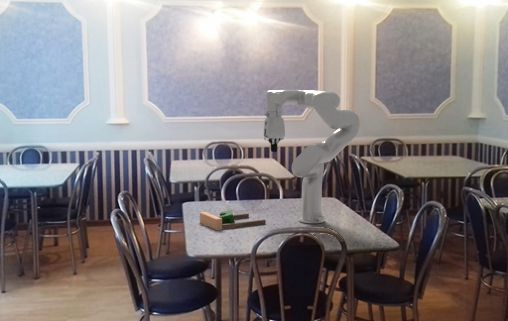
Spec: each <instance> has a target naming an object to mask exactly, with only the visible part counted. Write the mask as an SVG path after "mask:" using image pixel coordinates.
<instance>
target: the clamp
mask: <svg viewBox="0 0 508 321" xmlns="http://www.w3.org/2000/svg"><path fill="white" fill-rule="evenodd" d="M233 215H234V214H233V211H232V209H228V210H224V211H220V212H219V216H220V218H222V224H229V223H236V221H235V219H234V217H233Z"/></svg>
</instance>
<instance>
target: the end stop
mask: <svg viewBox="0 0 508 321" xmlns="http://www.w3.org/2000/svg"><path fill="white" fill-rule="evenodd" d="M199 223H200V224H202V225H204V226H206V227H208V228H210V229H212V230H216V231H219V230H220V231H221V230H223V229H222V218H219V216H216V215H214V214H211V213H209V212H207V211H200V212H199Z"/></svg>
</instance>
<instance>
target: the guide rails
mask: <svg viewBox="0 0 508 321" xmlns="http://www.w3.org/2000/svg"><path fill="white" fill-rule="evenodd" d="M218 217H219V218H220V215H218ZM233 217H234V220H241V219H249V218H250V214H249V212H248V213H238V214H237V213H236V214H233ZM266 222H267V221H266V219H263V218H262V219H255V220H249V221H247V220H246V221H238V222H235V223H229V224H222V230H227V229H228V230H229V228H230V229H237V227H238V228H245V227H254V226H262V225H266Z"/></svg>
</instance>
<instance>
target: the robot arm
mask: <svg viewBox="0 0 508 321" xmlns="http://www.w3.org/2000/svg"><path fill="white" fill-rule="evenodd" d="M340 103H341V98H340V96H339V94H338V93H336V92H334V91H326V90H325V91H323V90H313V89H312V90H300V89H278V90H275V89H273V90H271V89H270V90H267V91H266V111H265V112H264V116H266V117H265V120H264V124H263V136H264V139H263V141H267V142H268V143H269V144H270V152H271V153H278V145H279V143H280V142H281V141H283V140H284V138H285V136H286V129H285V120H284V117H283V116H282V114H283V112H282V106H304V107H306V108H307V109H313V110H315V111H316V113H317V114H318V115H319V117H320V118H321V119H322V121H323V122H324V123H325V124H326V126H327V127H328V128H330V129H332V130H335V131H334V132H332V133H331V134H330V135H329V137H327V138H326V139H325V140H323V141H320V142H314V143H311V144H310V145H308V146H306V148H305V149H304V150H303V151H302V152H301V153H299V155H298V156H297V157H295V159H294V160H293V162H292V164H291V172H292V173H293V175H294V176H296V177H297V178H302V181H301V216H300V217H298V220H297V221H298V222H300V223H302V224H303V223H304V224H321V223H324V222H326V221H325V216H323V212H322V209H323V208H322V207H323V206H322V203H323V202H322V201H323V200H322V199H323V195H322V193H323V189H322V188H323V176H324V175H323V174H324V172H325V171H324V169H325V163H328V162H331V161H333V159H334V158H335V157H336V156H338V155H339V153H341V151H343V149H345V147H347V146H348V145H350V143H351V142H352V141H353V140H354V138H356V136H357V134H358V133H359V130H360V123H361V122H360V118H359V116H358V113H356V112H355V111H353V110H350V109H342V110H341V109H337V108H338V107H339V106H340Z"/></svg>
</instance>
